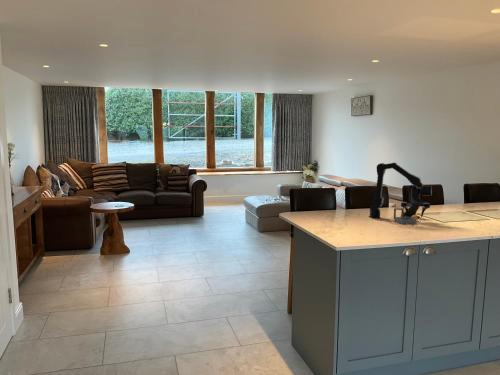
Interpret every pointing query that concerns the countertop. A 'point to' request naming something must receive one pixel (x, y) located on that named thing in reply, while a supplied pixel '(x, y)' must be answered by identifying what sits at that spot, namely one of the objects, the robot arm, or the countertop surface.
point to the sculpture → (411, 212)
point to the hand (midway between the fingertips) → (414, 217)
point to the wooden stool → (398, 209)
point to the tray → (405, 220)
